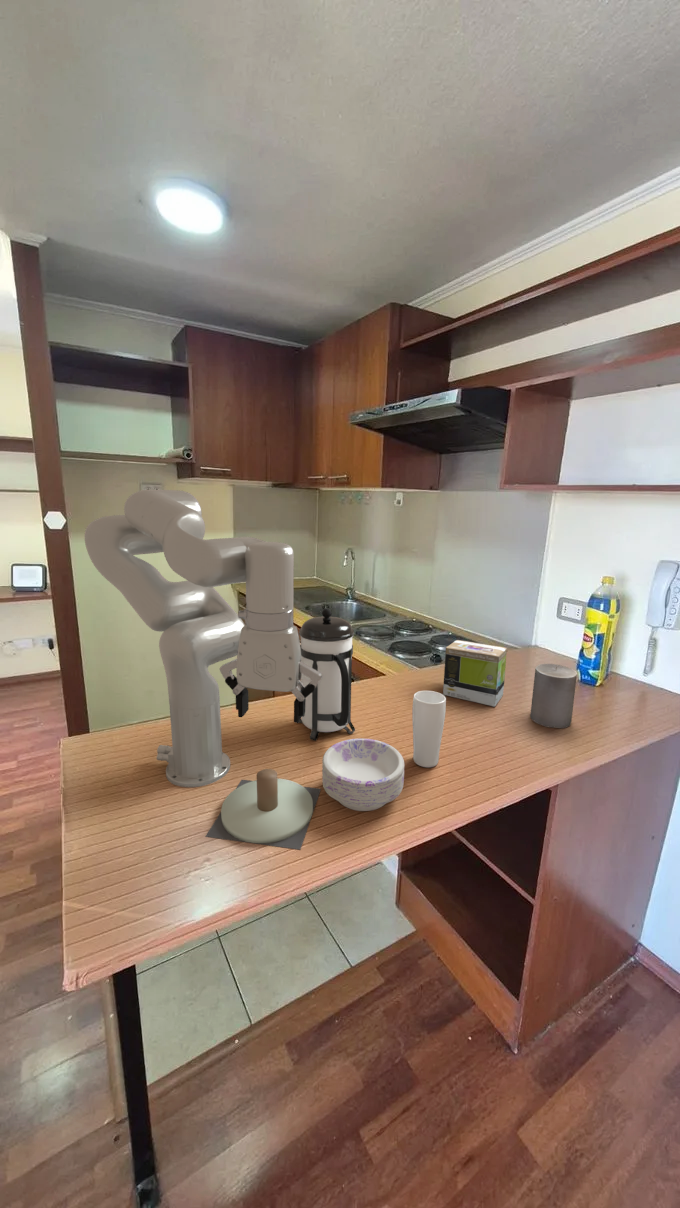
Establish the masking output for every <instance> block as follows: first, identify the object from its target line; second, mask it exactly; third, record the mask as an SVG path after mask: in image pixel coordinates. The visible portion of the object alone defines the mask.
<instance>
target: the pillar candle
mask: <svg viewBox="0 0 680 1208" xmlns="http://www.w3.org/2000/svg"><path fill="white" fill-rule="evenodd" d="M534 669H535V670H534V677H533V678H534V680H533V688H532V696H531V706H530V714H529V717H530V719H531V720H532V721H533V722H534V723H536V724H538V725H540V726H543V727H546V728H555V729H566V728H568V727H570V726H571V723H572V719H573V713H574V705H575V704H574V702H575V693H576V686H577V679H578V678H577V677H578V672H577V671H576V670H575V669H573V668H572V667H569V666H566V665H563V664H556V663H540V664H538V665H536V666H535V668H534Z"/></svg>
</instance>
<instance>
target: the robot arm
mask: <svg viewBox="0 0 680 1208" xmlns="http://www.w3.org/2000/svg"><path fill="white" fill-rule="evenodd" d="M123 513H124V514H116V515H115V514H113V515H105V516H102V517H99V518H96V519H94V520H92V521H91V522H89V524H88V525H87V526H86V528H85V531H84V543H85V547H86V550H87V551H86V552H87V555H88V556H89V559H90V561H91V562H92V564H93V566H94V567H95V569H96V570H97V572H99V573H100V575H101V576H103V578H104V579H106V581H108V582H109V583H110V584H111V585H112V586H113V587H115V588H116V589H117V590H118V592H120V593H121V594H122V595H123V597H124V599H125V600H126V601H127V602H128V604H129V605H130V606H131V607H132V609H133V610H134V611H135V612H136V614H137V615H138V616H139V618H140V619H141V620H142V621H143V622H144V624H145V625H146V626H147V627H148V628H149V629H151V630H152V631H154V632H159V633H160V632H162V633H161V635H160V637H159V641H158V647H159V654H160V657H161V661H162V664H163V667H164V668H163V669H164V670H165V676H166V682H167V691H168V693H167V695H168V704H169V717H170V718H169V719H170V730H171V731H170V732H171V744H172V745H171V746H169V745H163V744H160V745H159V746H158V747H157V748H156V752H157V754H156V760H157V761H160V762H161V761H163V762H164V761H166V762H167V763H168V764H167V766H166V769H165V776H166V779H167V780H168V782H169V783H171V785H174V786H178V787H180V788H198V787H200V788H201V787H205V786H207V785H211V784H213V783H215V782H217V781H220V780H221V779H222V778H223V777H225V776H226V775H227V774H228V773H229V771H230V769H231V759H230V756H228V754H227V753H225V752H223V746H222V745H223V742H222V741H223V739H222V723H221V719H222V718H221V702H220V701H221V698H220V689H219V688H220V687H219V684H218V681H217V679H216V678H215V677H214V676H213V675H212V673H210V672H209V667H210V666H211V665H214V664H216V663H219V662H222V661H224V660H228V659H232V658H233V657H237V658H236V659H233V660H231V661H229V662H226V663H224V664H222V665H221V666H220V667H219V672H220V674H221V676H222V677H223V679H224V682H225V684H226V685H227V686H228V687H229V688H230V689H231V691H232V694H233V695H235V709H236V710H237V713H238V714H237V717H238V718H243V717H244V716H245V715H246V713H247V712H248V711H249V689H253V690H261V691H273V692H287V693H288V692H291V693H292V695H294V697H295V700H294V701H293V723H294V724H300V723H299V721H300V719H301V720H302V716H303V717H304V715H305V698H306V697H307V696H308V695H310V694H311V693H312V692H313V691H314V689H315V688H316V686H317V684H318V683H319V681H320V679H321V677H322V674H321V673H320V672H318V671H316V670H315V669H313V668H311V667H310V666H308V665H306V664H305V663H303V662H302V660H301V648H300V645H301V640H300V634H299V630H298V627H297V626H295V625H294V589H295V588H294V586H295V585H294V577H295V576H294V571H295V569H294V567H295V565H294V563H295V561H294V560H295V554H294V549H293V547H292V546H291V545H289V544H288V543H286V542H285V543H284V542H281V541H280V542H279V541H266V540H262V539H260V538H257V537H251V536H241V537H240V536H239V537H223V538H222V537H221V538H210V539H204V538H205V533H206V524H205V521H204V518H203V516H202V515H203V513H202V507H201V505H200V502H199V501H198V499H197V498H196V497H195V496H194V495H193V494H192V493H191V492H188V491H184V490H179V489H152V488H151V489H150V488H149V489H142V490H141V489H140V490H138V491H135V492H133V493H132V494H131V495H130V496H128V497H127V499H126V500H125V503H124V505H123ZM160 553H163V554H164V557H165V560H166V562H167V564H168V566H169V568H170V569H171V570H172V571H173V572H174V573H175V574H176V575H179V577H182V578H183V579H185V580H184V581H183V580H182V581H169V580H167V579H166V578H165V577H164V576H163V575H162V574H161V572H160V570H159V569H157V568H156V567H155V566H154V565H153V564H151V563H150V562H147V561H146V560H144V559H141V558H140V557H137V555H148V554H151V555H152V554H160ZM240 583H245V607H246V608H245V609H243V610H241V609H240V610H238V612H236V611H235V609H233V607H232V606H231V605H230V604H229V603H228V602H227V600H226V599H225V598H223V596H222V595H221V594H220V593H219V592H218V591H217V590H216V589H215V588H216V587H221V586H229V585H233V584H240ZM243 620H244V621H243ZM235 669H236V675H235V674H233V670H235ZM302 674H304V675H306V676H307V677H309V678H310V679H311V682H310V683H309V684H308V685H307V686H304V685H303V683H302V682H301V677H302Z"/></svg>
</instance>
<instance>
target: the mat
mask: <svg viewBox="0 0 680 1208" xmlns="http://www.w3.org/2000/svg"><path fill="white" fill-rule="evenodd" d="M252 781H253V780H250V779H249V780H247V779H241V780H240V782H239V783H238V784H237V786H236V788H235V789H237V788H238V787H240V786H242V785H244V784H246V783H249V782H252ZM303 787H304V788H305V789H306V790H307V791H308V792H309V793H310V795H311V797H312V801H313V813H312V815H313V814H314V811H315V808H316V805H317V802H318V799H319V796H320V794H321V792H322V791H321V790H322V788H317V787H310V786H303ZM311 819H312V818H311ZM311 819H310V821H309V822H308V824H307V825H306V826H305V827H304V828H303V829H302V830H301V831H300V832H298V833H297V834H295V835H293V836H291V837H289V838H287V839H284V840H281V841H277V842H272V843H253V844H255V845H261V846H263V845H264V846H269V847H276V848H277V847H278V848H283V849H291V850H297V851H298V850H299V851H301V849H302V846H303V844H304V840H305V837H306V835H307V831H308V829H309V826H310V823H311ZM205 838H212V839H219V840H227V841H234V842H241V843H247V844H251V843H250V842H245V841H242V840H239V839H237V838H235V837H234V836H232V835H231V834H229V833H228V832H227V831H226V829H225V828H224V826H223V824H222V819H221V812H220V813H219V814H218V815H217V817H216V819H215V820H214V822H213V824H212V825H211V827H210V828H209V830H208V831H207V833H206V835H205Z"/></svg>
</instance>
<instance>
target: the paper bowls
mask: <svg viewBox="0 0 680 1208" xmlns="http://www.w3.org/2000/svg"><path fill="white" fill-rule="evenodd" d="M321 761H322V767H321V768H322V770H321V772H322V775H321V777H322V779H321V781H322V786H323V789H324V791H325V792H326V794H327V795H328V796H329V797H330V798H332V799H334V800H335V801H337V802H338V803H340V804H341V805H342V806H344V807H345V808H347V809H350V810H353V811H357V812H369V811H370V812H371V811H375V810H378V809H380V808H382V807H383V806H385V805H386V804H389V803H390V802H392V801H395V799H396V798H398V797H399V796H400V794H401V793H402V791H403V788H404V781H405V761H404V757H403V755H402V753H400V751H399V750H398V749H396V748H395V747H394V746H392V745H390V744H389V743H386V742H384V741H381V740H378V739H372V738H351V739H349V738H348V739H345V740H342V741H339V742H336V743H334V744H333V745H331V746H330V747H329V748H328V749H327V750H326V751H325V753H324V754H323V756H322V760H321Z"/></svg>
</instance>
